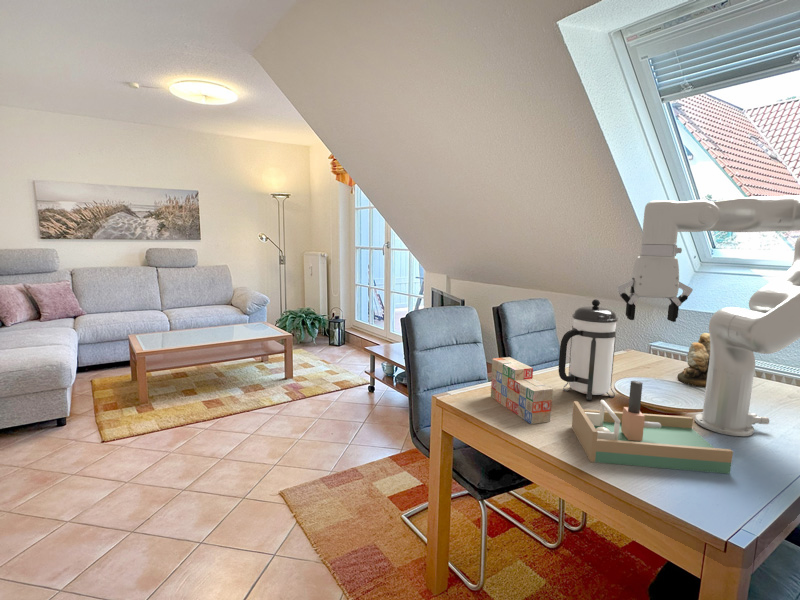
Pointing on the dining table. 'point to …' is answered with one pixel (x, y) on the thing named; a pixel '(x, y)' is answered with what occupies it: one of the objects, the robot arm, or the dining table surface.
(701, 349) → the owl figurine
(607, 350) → the coffee press
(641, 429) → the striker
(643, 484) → the dining table surface
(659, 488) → the dining table surface
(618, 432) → the pitch
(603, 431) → the ball
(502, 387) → the stack of blocks
